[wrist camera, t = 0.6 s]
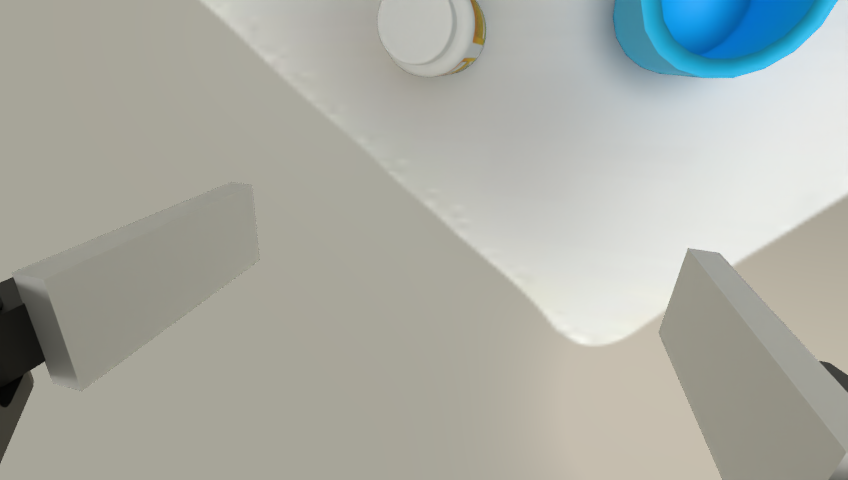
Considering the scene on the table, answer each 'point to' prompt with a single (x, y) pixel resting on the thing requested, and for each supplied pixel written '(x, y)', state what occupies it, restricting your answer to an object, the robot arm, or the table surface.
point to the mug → (714, 33)
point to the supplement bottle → (432, 34)
